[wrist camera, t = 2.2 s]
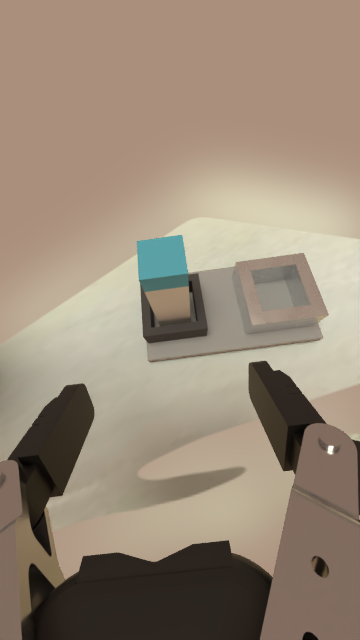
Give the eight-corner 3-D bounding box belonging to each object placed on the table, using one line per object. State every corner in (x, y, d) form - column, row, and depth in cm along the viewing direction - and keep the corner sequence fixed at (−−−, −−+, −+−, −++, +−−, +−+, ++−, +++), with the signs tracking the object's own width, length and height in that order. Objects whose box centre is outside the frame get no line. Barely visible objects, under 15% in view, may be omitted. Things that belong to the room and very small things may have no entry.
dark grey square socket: (148, 343, 28) (143, 336, 25) (145, 292, 31) (140, 281, 28) (206, 335, 28) (208, 328, 25) (198, 285, 31) (198, 273, 28)
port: (245, 334, 27) (252, 325, 24) (231, 277, 31) (236, 262, 27) (313, 325, 27) (328, 315, 24) (292, 269, 30) (303, 253, 27)
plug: (161, 328, 29) (139, 280, 17) (158, 301, 30) (136, 241, 19) (190, 324, 28) (188, 273, 17) (187, 297, 30) (182, 234, 19)
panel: (149, 361, 28) (147, 360, 27) (144, 282, 32) (143, 279, 32) (319, 339, 28) (323, 337, 27) (290, 262, 32) (293, 258, 31)
